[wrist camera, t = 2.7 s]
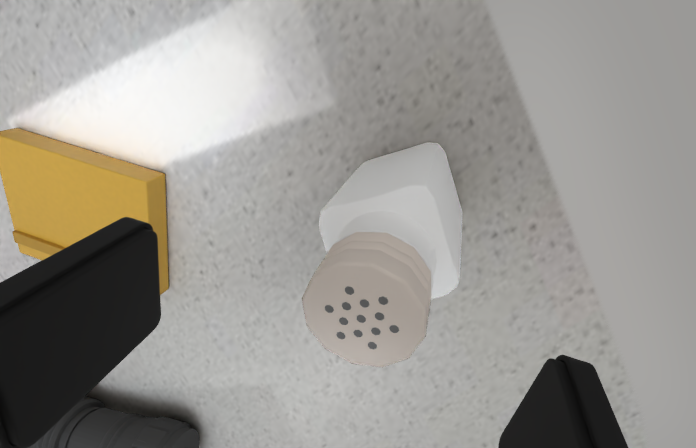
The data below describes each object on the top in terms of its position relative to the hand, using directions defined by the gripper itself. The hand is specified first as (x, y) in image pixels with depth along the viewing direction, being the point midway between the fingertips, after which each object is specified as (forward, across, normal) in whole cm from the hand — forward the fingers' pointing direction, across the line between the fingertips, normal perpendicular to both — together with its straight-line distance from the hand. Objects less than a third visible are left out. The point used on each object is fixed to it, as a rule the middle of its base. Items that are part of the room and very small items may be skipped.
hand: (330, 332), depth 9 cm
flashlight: (+11, +17, +26) cm, 33 cm away
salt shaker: (+10, -1, 0) cm, 10 cm away
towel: (+11, +17, +7) cm, 21 cm away
